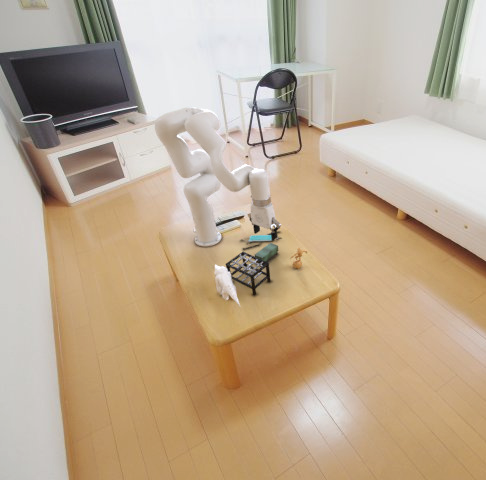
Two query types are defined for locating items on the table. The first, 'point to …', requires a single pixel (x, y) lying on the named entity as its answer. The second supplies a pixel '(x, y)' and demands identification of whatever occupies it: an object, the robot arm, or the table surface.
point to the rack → (249, 267)
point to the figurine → (298, 263)
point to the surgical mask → (260, 238)
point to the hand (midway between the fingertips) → (265, 235)
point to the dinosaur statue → (225, 283)
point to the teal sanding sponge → (267, 253)
